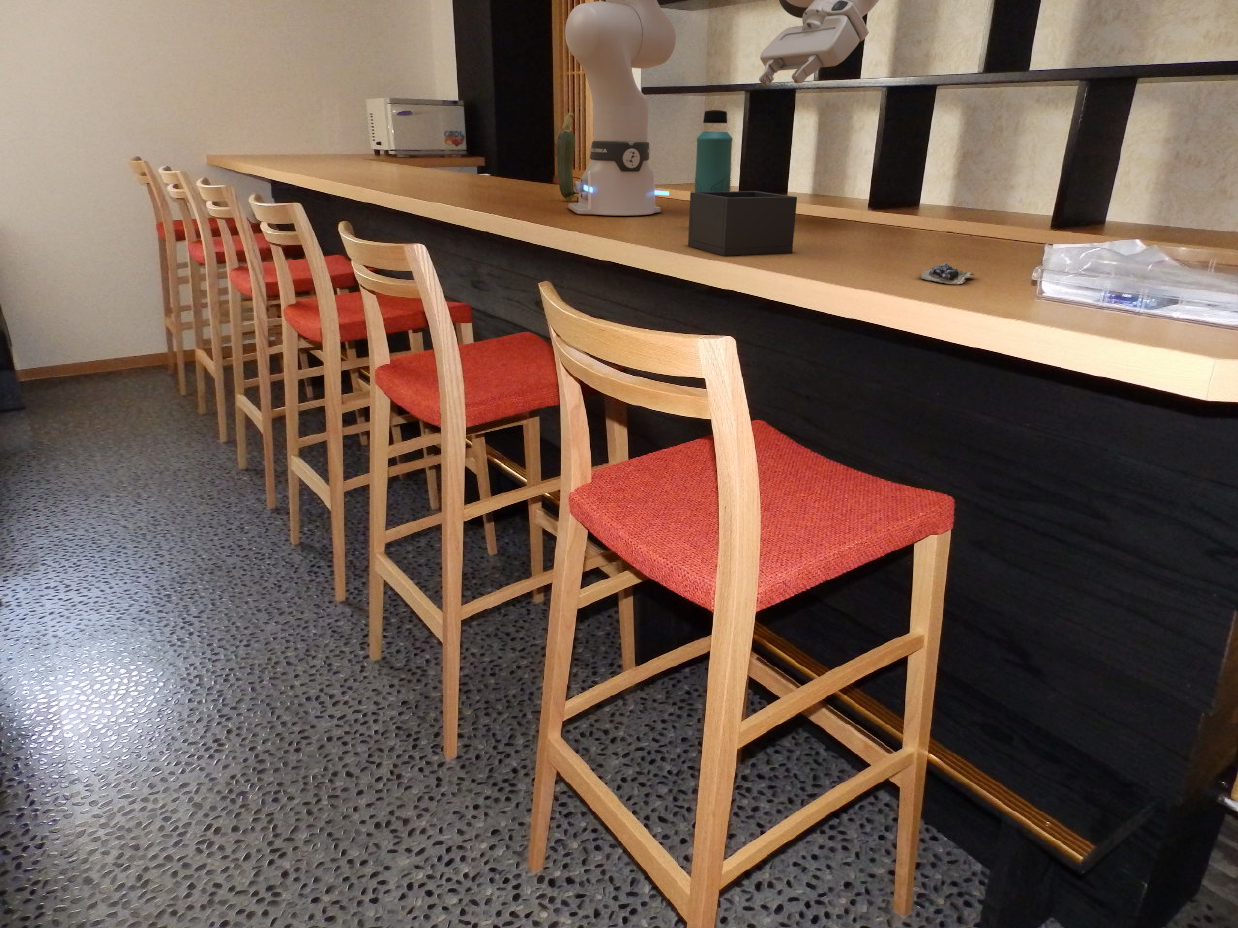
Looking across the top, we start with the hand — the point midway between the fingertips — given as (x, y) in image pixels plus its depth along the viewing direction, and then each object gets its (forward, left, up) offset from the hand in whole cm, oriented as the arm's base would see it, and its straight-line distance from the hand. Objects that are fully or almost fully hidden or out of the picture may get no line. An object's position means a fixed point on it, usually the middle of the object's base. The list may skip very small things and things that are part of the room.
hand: (779, 81), depth 149 cm
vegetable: (-61, -19, -25) cm, 69 cm away
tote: (+26, -21, -25) cm, 42 cm away
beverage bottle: (+1, -13, -25) cm, 28 cm away
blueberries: (+58, -10, -25) cm, 64 cm away
